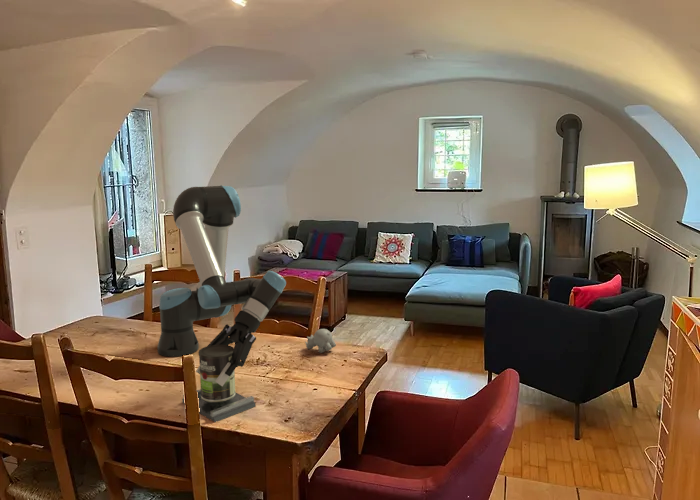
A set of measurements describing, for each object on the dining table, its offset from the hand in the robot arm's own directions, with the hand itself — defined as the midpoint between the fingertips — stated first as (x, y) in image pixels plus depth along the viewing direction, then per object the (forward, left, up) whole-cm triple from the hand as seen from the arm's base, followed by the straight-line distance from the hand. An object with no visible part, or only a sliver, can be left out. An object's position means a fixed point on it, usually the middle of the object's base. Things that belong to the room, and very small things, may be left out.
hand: (208, 378), depth 163 cm
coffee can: (0, +3, -6) cm, 7 cm away
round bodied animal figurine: (-13, +56, -9) cm, 58 cm away
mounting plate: (0, +3, -9) cm, 10 cm away
